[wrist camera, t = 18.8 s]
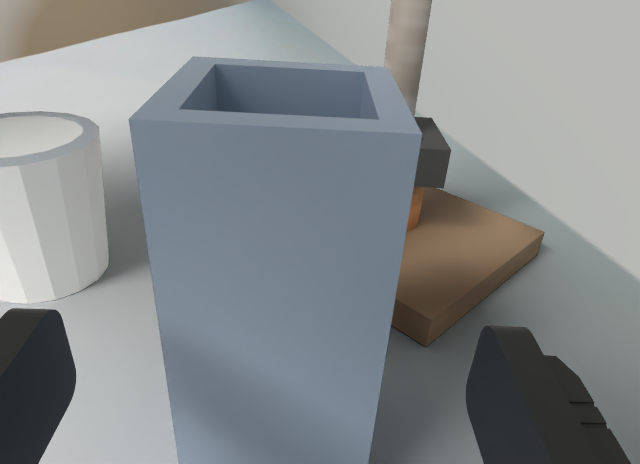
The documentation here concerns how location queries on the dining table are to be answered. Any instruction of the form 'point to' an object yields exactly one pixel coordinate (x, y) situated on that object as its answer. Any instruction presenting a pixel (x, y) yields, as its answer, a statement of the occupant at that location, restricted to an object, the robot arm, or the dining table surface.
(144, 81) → the dining table surface
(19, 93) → the dining table surface
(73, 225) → the white cup
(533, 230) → the post stand
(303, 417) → the sleeve
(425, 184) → the ring
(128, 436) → the dining table surface
